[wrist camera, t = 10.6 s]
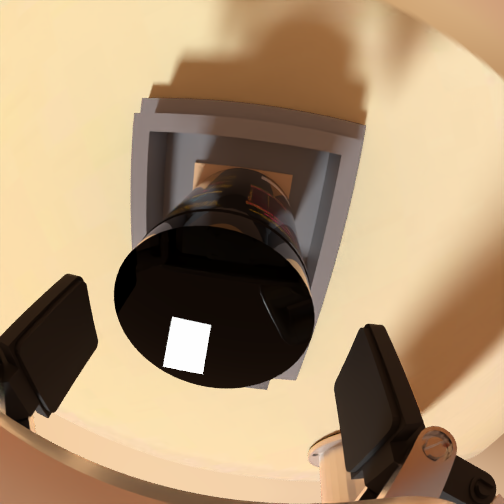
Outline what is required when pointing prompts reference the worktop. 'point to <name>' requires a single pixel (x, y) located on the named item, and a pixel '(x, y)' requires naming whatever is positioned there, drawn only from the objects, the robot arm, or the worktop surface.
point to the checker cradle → (254, 158)
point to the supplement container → (220, 285)
